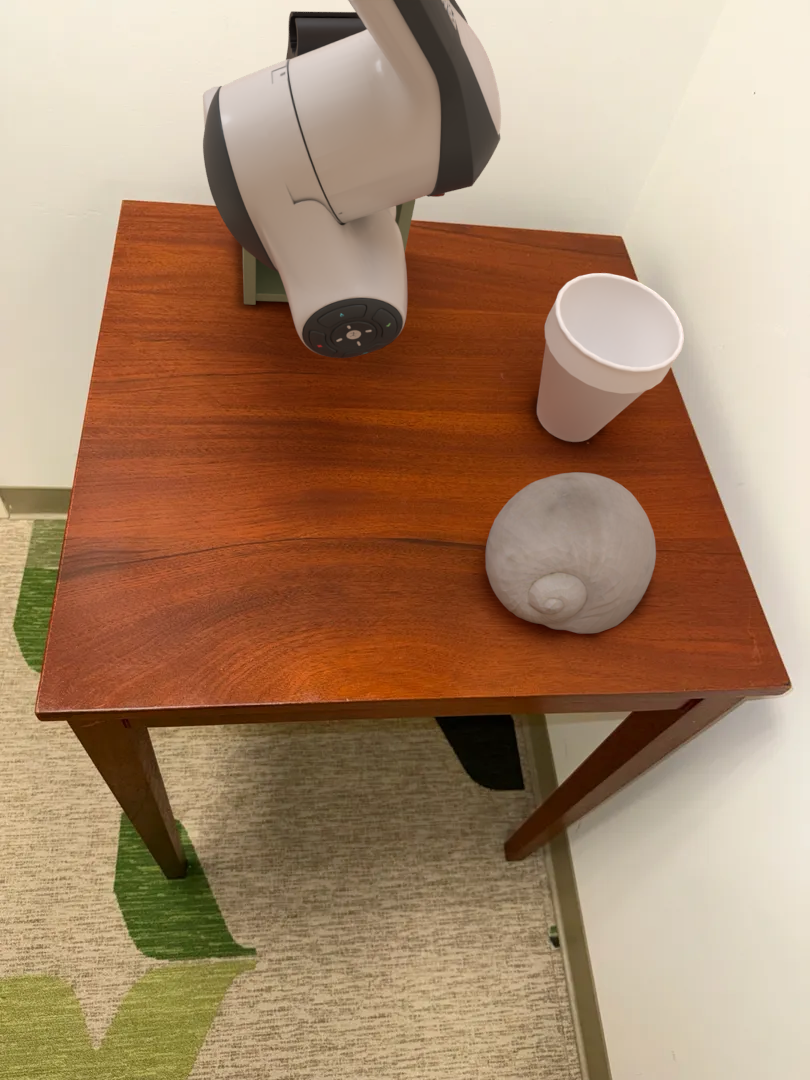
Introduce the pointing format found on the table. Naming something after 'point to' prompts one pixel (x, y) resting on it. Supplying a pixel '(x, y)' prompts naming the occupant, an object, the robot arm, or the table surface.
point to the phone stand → (319, 30)
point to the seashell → (571, 553)
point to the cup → (603, 352)
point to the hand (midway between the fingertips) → (323, 84)
